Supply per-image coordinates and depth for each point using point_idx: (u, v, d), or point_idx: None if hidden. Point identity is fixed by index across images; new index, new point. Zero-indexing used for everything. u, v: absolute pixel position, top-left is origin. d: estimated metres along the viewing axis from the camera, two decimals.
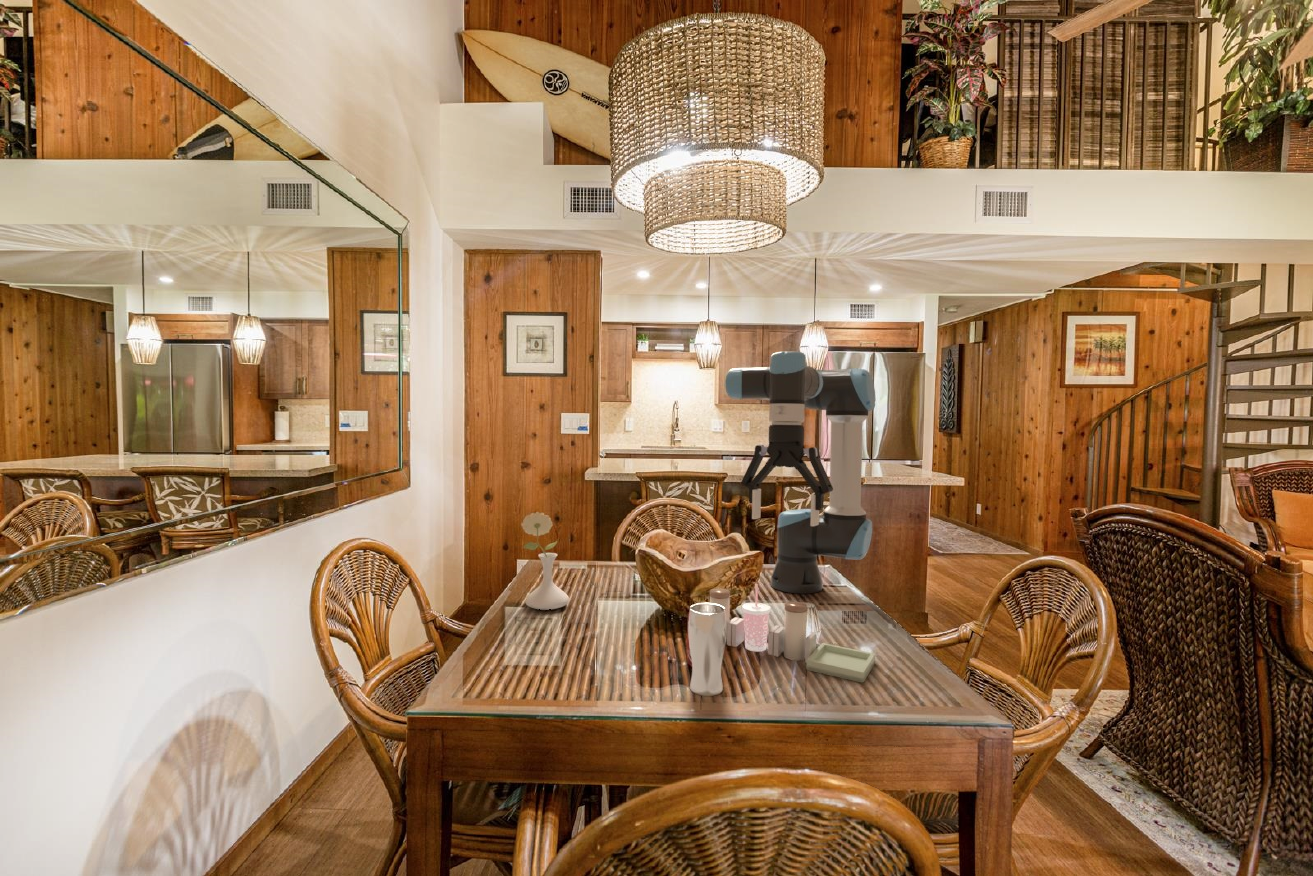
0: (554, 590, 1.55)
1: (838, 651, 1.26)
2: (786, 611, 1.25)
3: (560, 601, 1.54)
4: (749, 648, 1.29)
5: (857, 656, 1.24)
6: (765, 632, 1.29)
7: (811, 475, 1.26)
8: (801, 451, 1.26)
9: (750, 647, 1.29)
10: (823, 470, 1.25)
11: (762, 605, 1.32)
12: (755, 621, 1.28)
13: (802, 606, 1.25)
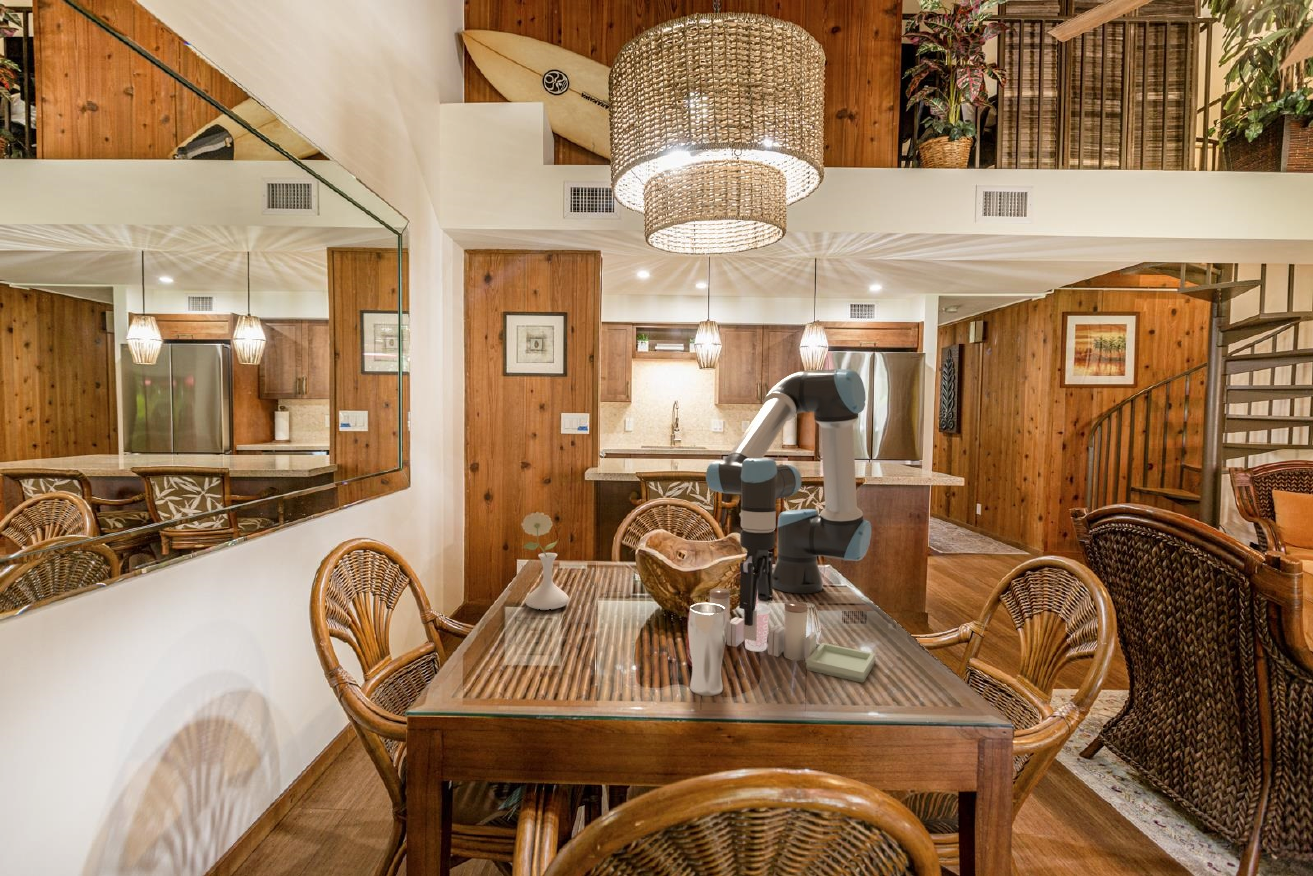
0: (554, 590, 1.55)
1: (838, 651, 1.26)
2: (786, 611, 1.25)
3: (560, 601, 1.54)
4: (749, 648, 1.29)
5: (857, 656, 1.24)
6: (765, 632, 1.29)
7: None
8: (746, 560, 1.28)
9: (750, 647, 1.29)
10: (747, 588, 1.25)
11: (762, 605, 1.32)
12: None
13: (802, 606, 1.25)
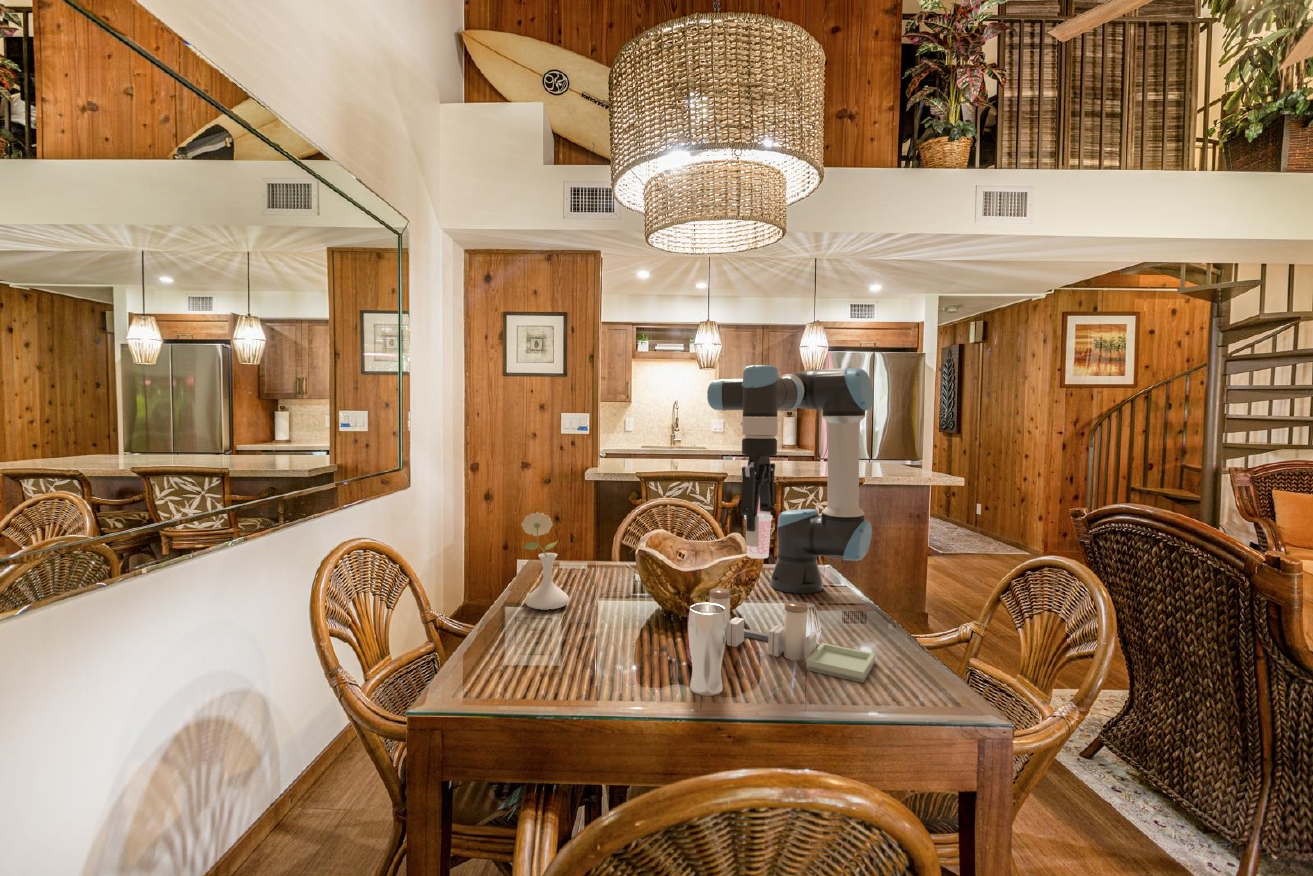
0: (554, 590, 1.55)
1: (838, 651, 1.26)
2: (786, 611, 1.25)
3: (560, 601, 1.54)
4: (751, 556, 1.29)
5: (857, 656, 1.24)
6: (767, 539, 1.29)
7: None
8: None
9: (752, 555, 1.29)
10: (749, 492, 1.24)
11: (764, 514, 1.32)
12: None
13: (802, 606, 1.25)
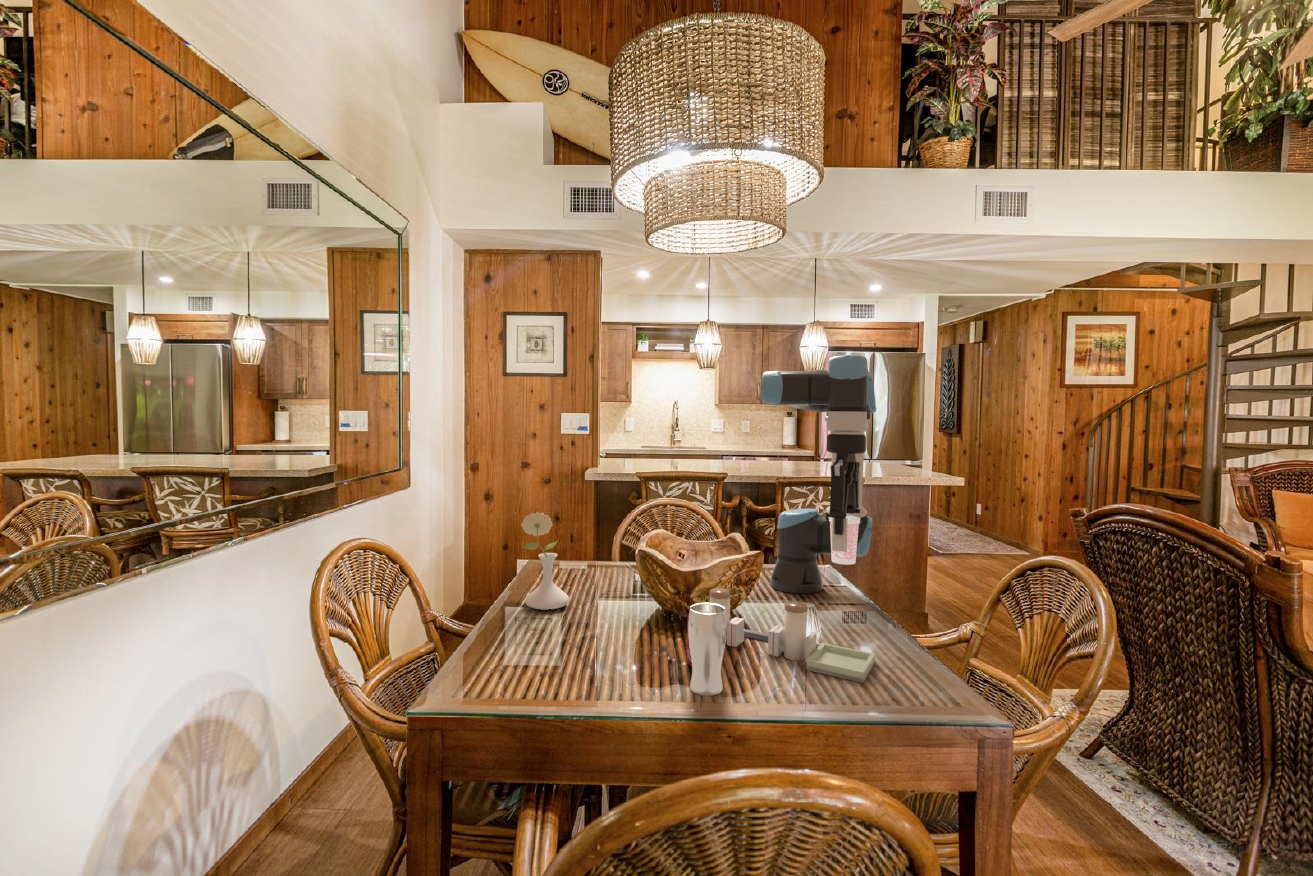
0: (554, 590, 1.55)
1: (838, 651, 1.26)
2: (786, 611, 1.25)
3: (560, 601, 1.54)
4: (837, 561, 1.19)
5: (857, 656, 1.24)
6: (855, 544, 1.19)
7: None
8: (835, 464, 1.17)
9: (838, 561, 1.19)
10: (838, 492, 1.15)
11: (850, 517, 1.22)
12: None
13: (802, 606, 1.25)
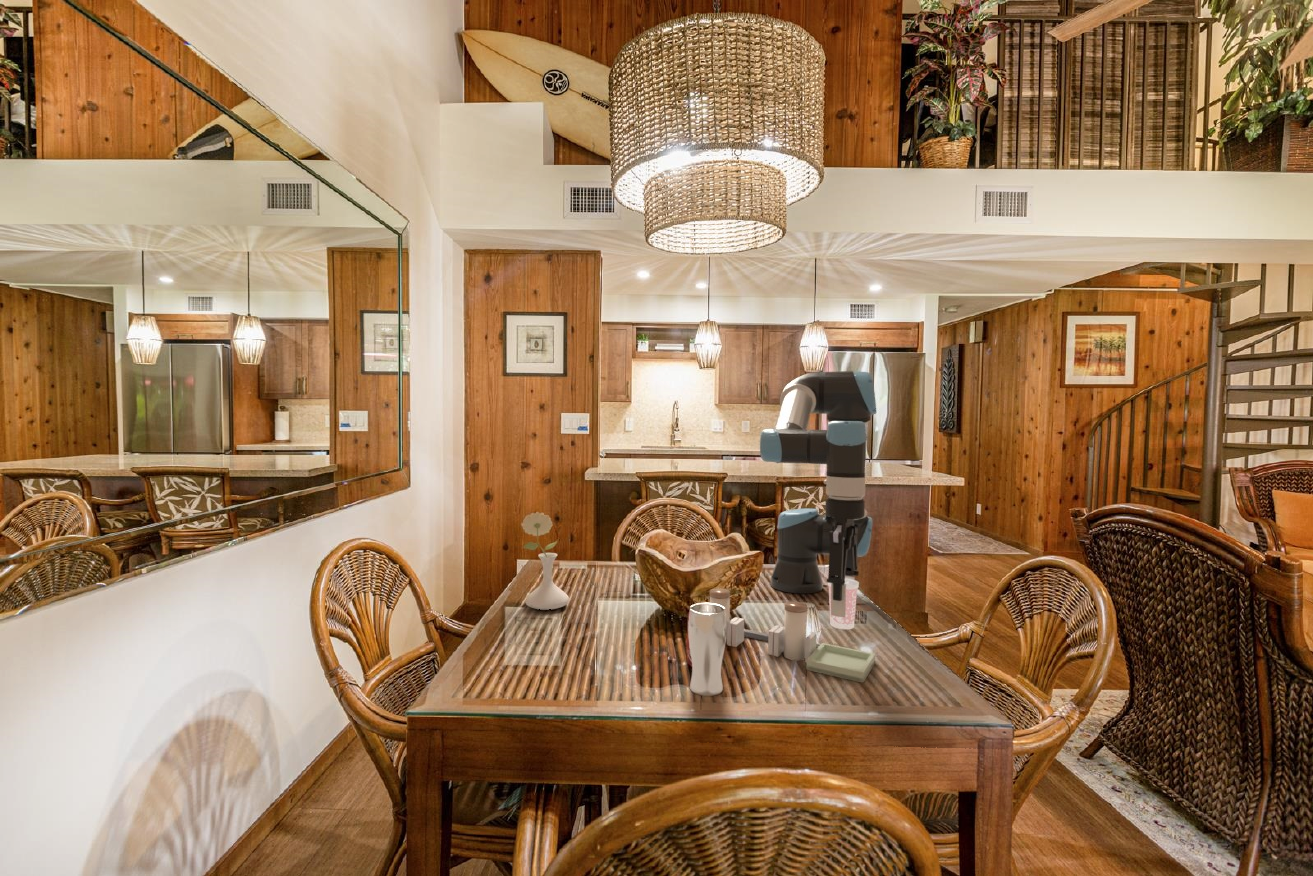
0: (554, 590, 1.55)
1: (838, 651, 1.26)
2: (786, 611, 1.25)
3: (560, 601, 1.54)
4: (836, 626, 1.19)
5: (857, 656, 1.24)
6: (854, 608, 1.19)
7: None
8: (834, 529, 1.18)
9: (837, 625, 1.19)
10: (837, 559, 1.15)
11: (848, 580, 1.22)
12: None
13: (802, 606, 1.25)
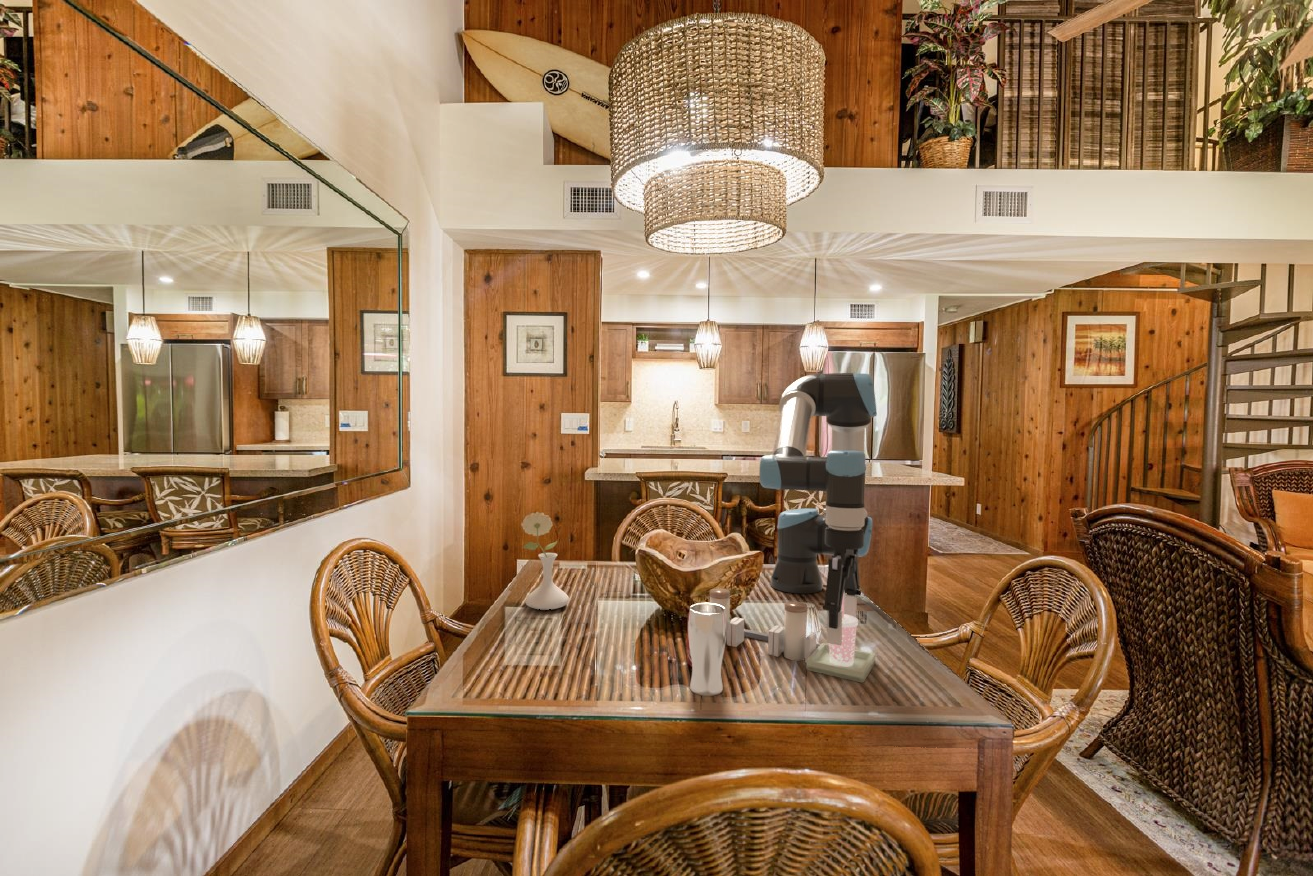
0: (554, 590, 1.55)
1: None
2: (786, 611, 1.25)
3: (560, 601, 1.54)
4: (836, 663, 1.20)
5: (857, 656, 1.24)
6: (853, 646, 1.20)
7: None
8: None
9: (836, 662, 1.20)
10: (834, 586, 1.14)
11: (848, 616, 1.23)
12: (843, 634, 1.19)
13: (802, 606, 1.25)
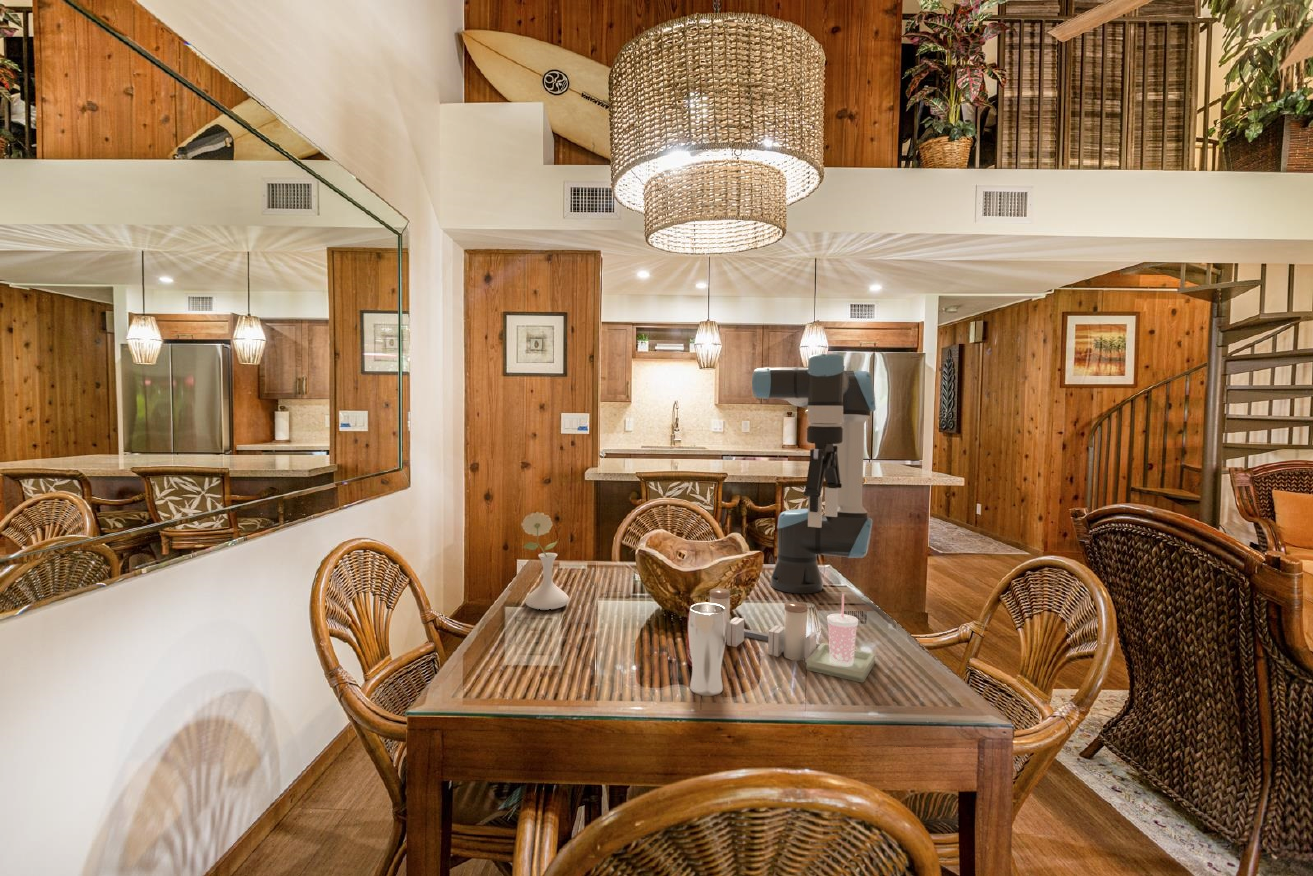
0: (554, 590, 1.55)
1: None
2: (786, 611, 1.25)
3: (560, 601, 1.54)
4: (836, 663, 1.20)
5: (857, 656, 1.24)
6: (853, 646, 1.20)
7: None
8: None
9: (836, 662, 1.20)
10: (815, 472, 1.24)
11: (848, 616, 1.23)
12: (843, 634, 1.19)
13: (802, 606, 1.25)
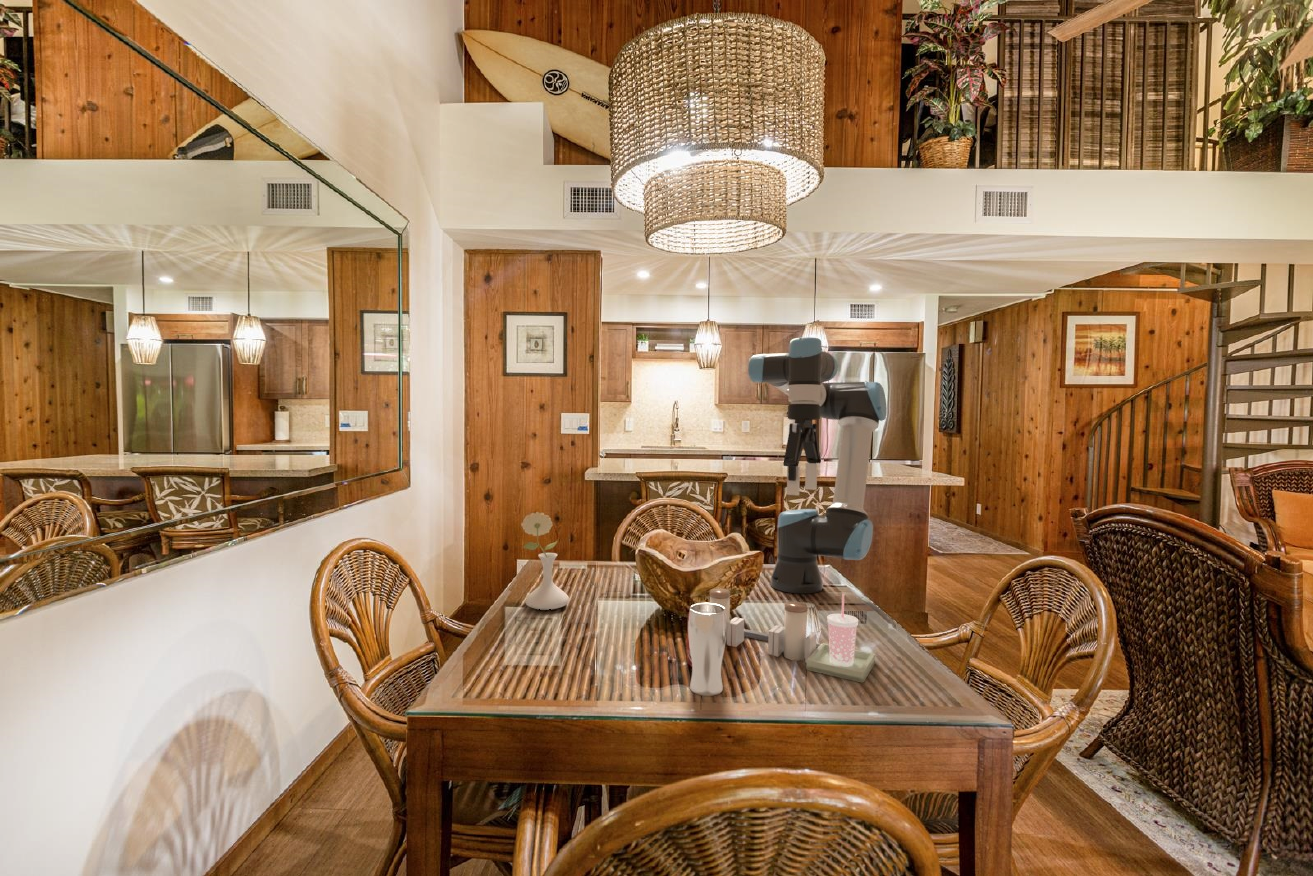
0: (554, 590, 1.55)
1: None
2: (786, 611, 1.25)
3: (560, 601, 1.54)
4: (836, 663, 1.20)
5: (857, 656, 1.24)
6: (853, 646, 1.20)
7: None
8: None
9: (836, 662, 1.20)
10: (793, 444, 1.36)
11: (848, 616, 1.23)
12: (843, 634, 1.19)
13: (802, 606, 1.25)
